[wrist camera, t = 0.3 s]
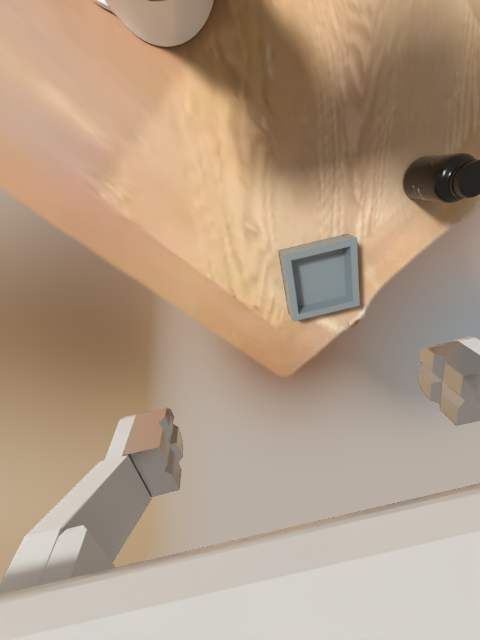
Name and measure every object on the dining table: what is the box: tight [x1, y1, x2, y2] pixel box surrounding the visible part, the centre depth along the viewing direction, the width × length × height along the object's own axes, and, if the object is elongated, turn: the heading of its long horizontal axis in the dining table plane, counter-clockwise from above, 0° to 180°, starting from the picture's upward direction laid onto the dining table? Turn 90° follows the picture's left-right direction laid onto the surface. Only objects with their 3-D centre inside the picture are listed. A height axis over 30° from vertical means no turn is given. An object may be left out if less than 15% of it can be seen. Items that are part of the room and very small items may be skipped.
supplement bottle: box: [403, 153, 480, 203], centre depth 47 cm, size 7×7×12 cm
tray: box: [278, 234, 360, 321], centre depth 56 cm, size 13×13×4 cm
